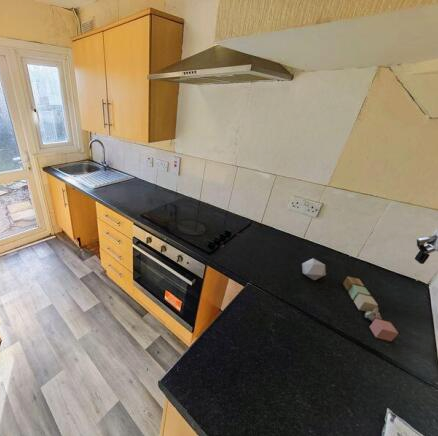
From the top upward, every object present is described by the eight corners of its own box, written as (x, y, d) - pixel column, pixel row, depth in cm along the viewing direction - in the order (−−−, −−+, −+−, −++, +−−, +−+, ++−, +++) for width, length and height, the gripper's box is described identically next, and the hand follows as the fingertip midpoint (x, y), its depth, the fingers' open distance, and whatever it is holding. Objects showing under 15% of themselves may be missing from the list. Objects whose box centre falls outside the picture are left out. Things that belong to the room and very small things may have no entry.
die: (325, 280, 104) (323, 258, 105) (327, 282, 96) (325, 258, 98) (303, 278, 109) (301, 257, 110) (303, 280, 101) (301, 257, 103)
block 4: (383, 330, 81) (390, 322, 79) (391, 341, 77) (398, 333, 75) (369, 326, 82) (375, 318, 80) (375, 337, 78) (382, 329, 76)
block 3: (366, 304, 91) (372, 296, 89) (372, 313, 88) (378, 305, 85) (353, 301, 92) (358, 293, 90) (358, 309, 89) (364, 301, 87)
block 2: (360, 295, 96) (365, 287, 94) (365, 302, 92) (370, 294, 90) (347, 292, 97) (352, 284, 95) (352, 299, 93) (357, 291, 91)
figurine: (374, 316, 86) (383, 305, 83) (383, 326, 82) (392, 315, 80) (359, 313, 87) (367, 302, 84) (366, 323, 83) (375, 312, 80)
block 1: (354, 286, 100) (359, 278, 98) (358, 293, 97) (364, 285, 95) (342, 283, 101) (347, 276, 99) (346, 290, 98) (351, 282, 96)
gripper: (444, 221, 68) (412, 265, 76) (522, 231, 64) (480, 277, 72) (425, 211, 75) (398, 253, 83) (496, 219, 70) (459, 263, 78)
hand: (436, 264), depth 77 cm, fingers open, 9 cm apart
